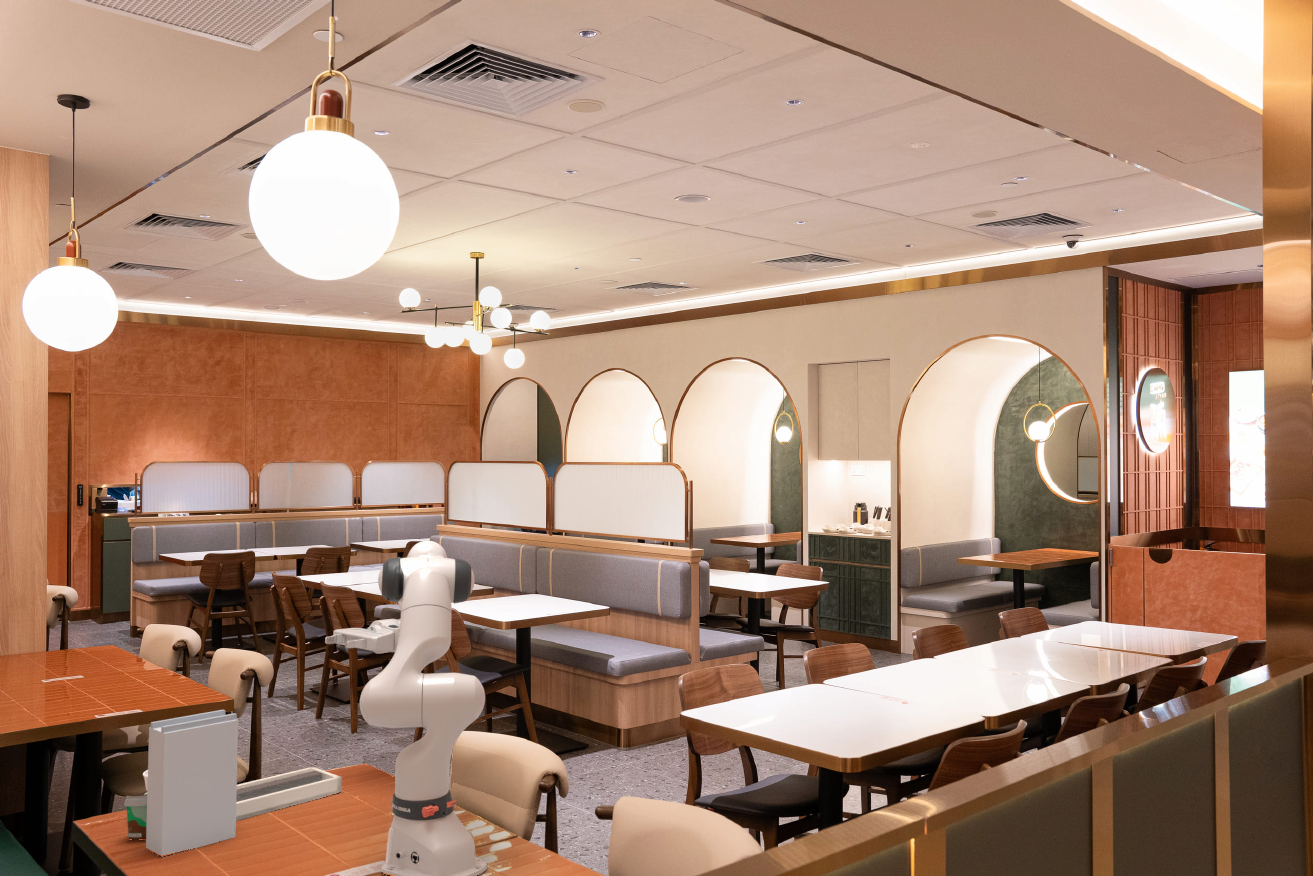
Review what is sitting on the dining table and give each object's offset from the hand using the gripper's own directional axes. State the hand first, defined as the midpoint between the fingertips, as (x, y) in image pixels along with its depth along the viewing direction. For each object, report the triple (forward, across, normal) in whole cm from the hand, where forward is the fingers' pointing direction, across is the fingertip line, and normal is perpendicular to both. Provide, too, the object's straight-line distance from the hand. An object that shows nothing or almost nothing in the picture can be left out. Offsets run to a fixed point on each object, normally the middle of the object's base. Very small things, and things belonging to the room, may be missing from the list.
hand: (336, 642), depth 252 cm
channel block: (+40, +9, +38) cm, 56 cm away
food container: (+43, -2, +38) cm, 58 cm away
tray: (+15, -4, +38) cm, 41 cm away
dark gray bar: (+14, -4, +33) cm, 36 cm away
